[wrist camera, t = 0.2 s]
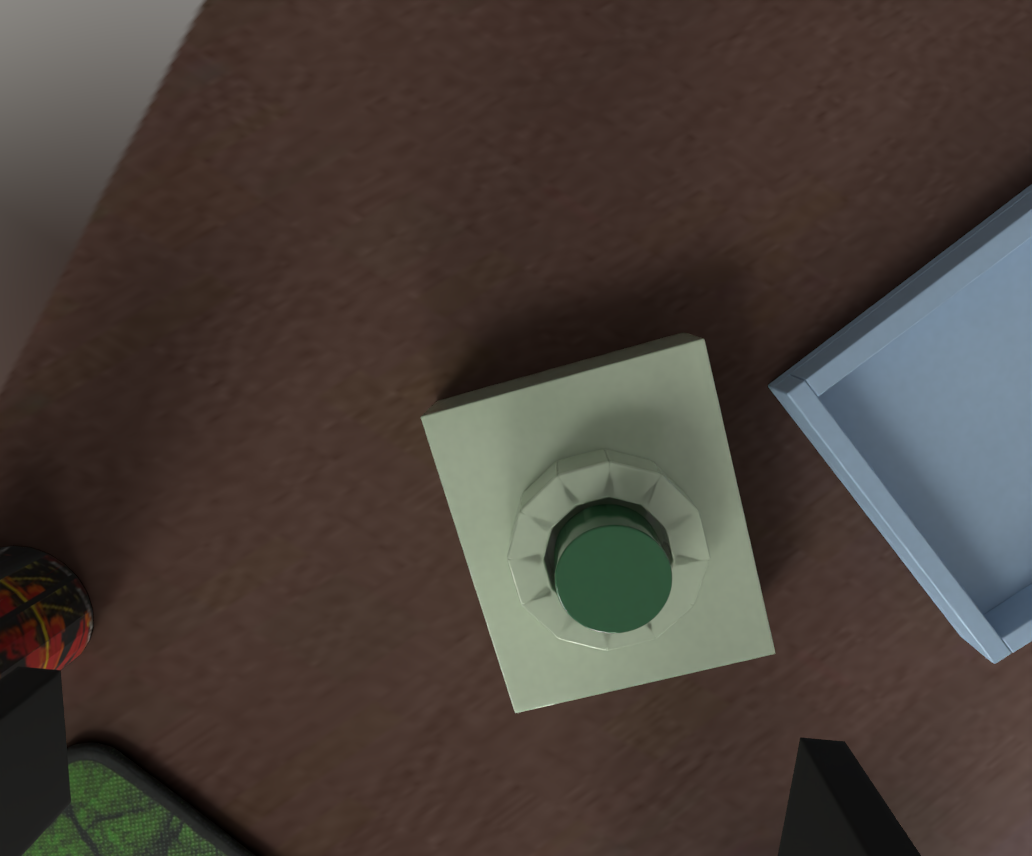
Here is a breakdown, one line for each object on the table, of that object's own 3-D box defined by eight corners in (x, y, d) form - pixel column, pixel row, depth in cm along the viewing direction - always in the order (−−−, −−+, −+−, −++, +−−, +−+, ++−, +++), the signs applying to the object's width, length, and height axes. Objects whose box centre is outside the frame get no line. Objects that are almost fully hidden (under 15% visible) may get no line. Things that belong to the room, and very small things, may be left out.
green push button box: (435, 401, 26) (409, 427, 21) (684, 331, 25) (719, 342, 20) (518, 666, 28) (512, 746, 23) (749, 612, 27) (794, 683, 22)
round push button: (541, 518, 22) (541, 541, 20) (646, 491, 21) (657, 512, 19) (569, 614, 22) (571, 646, 20) (671, 589, 22) (684, 619, 20)
